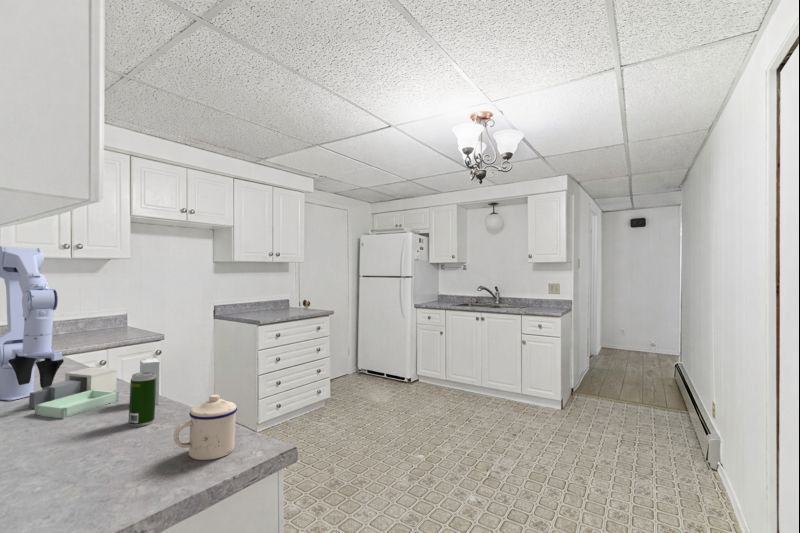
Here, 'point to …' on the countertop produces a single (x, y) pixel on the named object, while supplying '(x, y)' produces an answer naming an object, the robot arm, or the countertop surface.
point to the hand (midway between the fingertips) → (35, 385)
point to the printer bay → (94, 378)
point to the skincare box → (151, 366)
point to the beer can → (142, 399)
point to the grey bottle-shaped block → (54, 392)
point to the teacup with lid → (210, 429)
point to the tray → (76, 403)
